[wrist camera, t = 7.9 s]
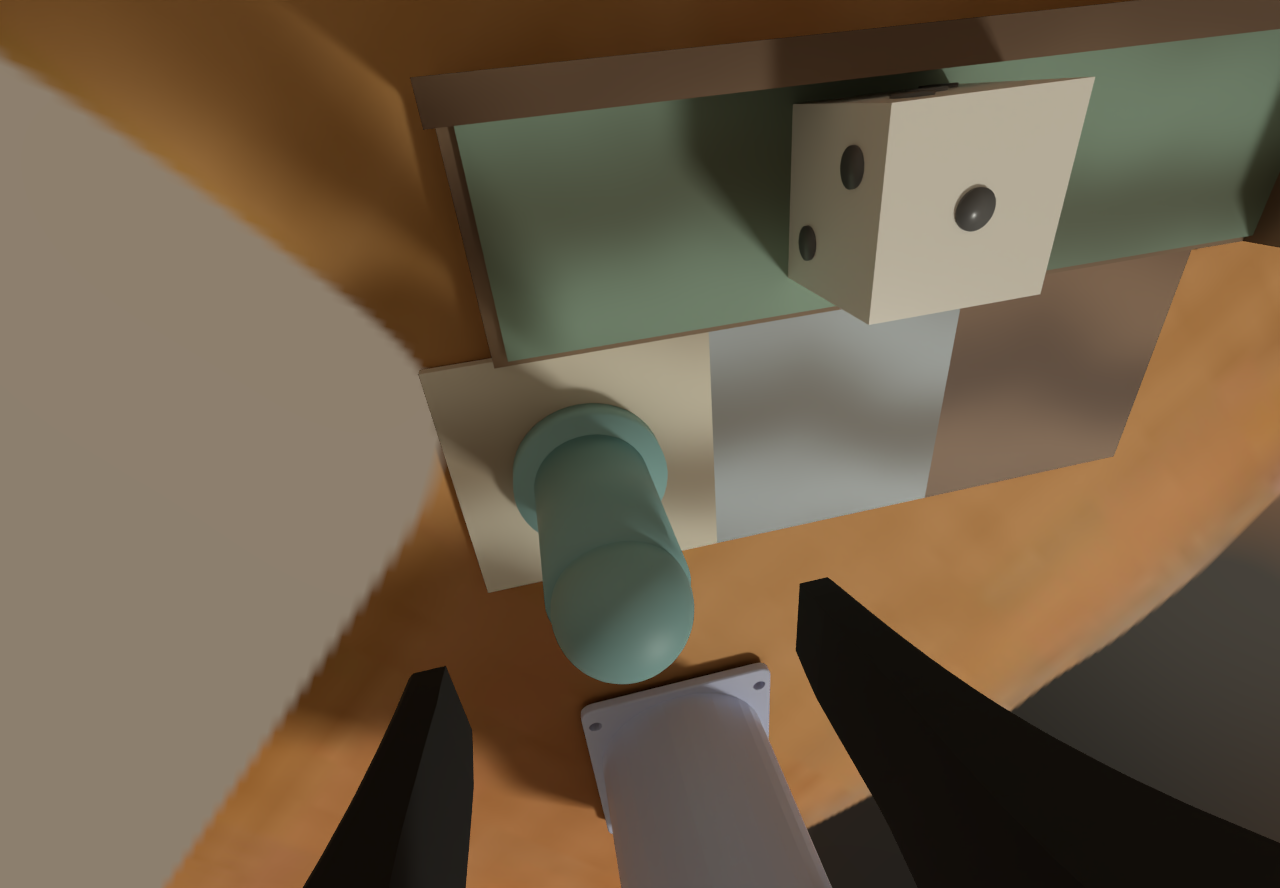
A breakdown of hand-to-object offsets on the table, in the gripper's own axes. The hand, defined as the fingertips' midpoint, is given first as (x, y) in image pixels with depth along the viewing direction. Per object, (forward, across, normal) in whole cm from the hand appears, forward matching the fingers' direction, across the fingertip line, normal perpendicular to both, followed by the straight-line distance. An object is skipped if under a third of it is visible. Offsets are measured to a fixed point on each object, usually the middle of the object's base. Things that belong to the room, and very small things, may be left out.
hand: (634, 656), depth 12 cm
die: (+7, -8, -7) cm, 13 cm away
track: (+8, -8, 0) cm, 11 cm away
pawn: (+7, 0, 0) cm, 7 cm away
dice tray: (+8, -10, -7) cm, 14 cm away
